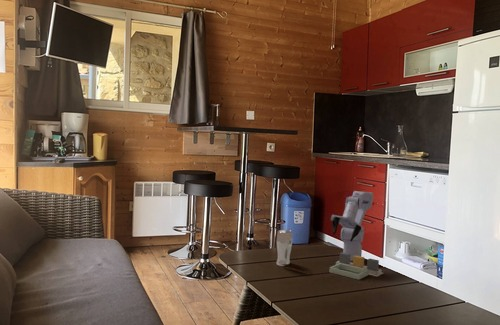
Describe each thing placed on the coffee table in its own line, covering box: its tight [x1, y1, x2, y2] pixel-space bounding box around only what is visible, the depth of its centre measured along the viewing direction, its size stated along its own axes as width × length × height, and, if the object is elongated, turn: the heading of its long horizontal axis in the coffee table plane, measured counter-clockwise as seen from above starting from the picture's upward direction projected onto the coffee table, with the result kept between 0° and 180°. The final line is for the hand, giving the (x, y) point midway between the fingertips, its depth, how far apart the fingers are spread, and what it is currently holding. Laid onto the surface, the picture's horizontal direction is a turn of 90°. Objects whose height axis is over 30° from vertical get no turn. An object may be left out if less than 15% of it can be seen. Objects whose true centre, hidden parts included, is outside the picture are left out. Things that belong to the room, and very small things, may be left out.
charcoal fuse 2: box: [366, 258, 380, 271], centre depth 176 cm, size 2×4×6 cm, turn 51°
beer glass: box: [275, 229, 293, 267], centre depth 185 cm, size 7×7×15 cm
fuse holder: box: [335, 260, 384, 277], centre depth 181 cm, size 7×20×2 cm, turn 51°
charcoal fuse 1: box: [338, 251, 351, 264], centre depth 185 cm, size 2×4×6 cm, turn 50°
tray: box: [328, 263, 369, 280], centre depth 174 cm, size 9×13×3 cm
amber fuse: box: [352, 255, 365, 268], centre depth 180 cm, size 2×4×6 cm, turn 51°
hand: (343, 236), depth 178 cm, fingers open, 7 cm apart
